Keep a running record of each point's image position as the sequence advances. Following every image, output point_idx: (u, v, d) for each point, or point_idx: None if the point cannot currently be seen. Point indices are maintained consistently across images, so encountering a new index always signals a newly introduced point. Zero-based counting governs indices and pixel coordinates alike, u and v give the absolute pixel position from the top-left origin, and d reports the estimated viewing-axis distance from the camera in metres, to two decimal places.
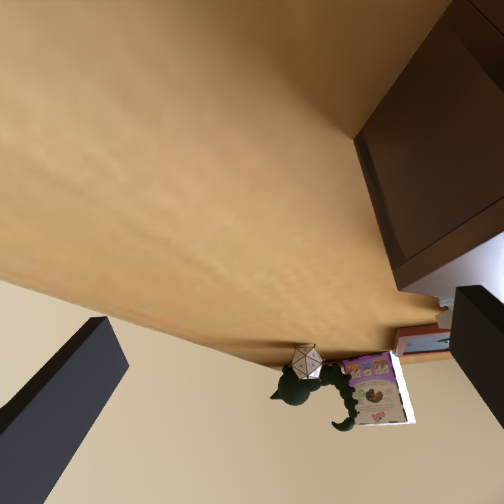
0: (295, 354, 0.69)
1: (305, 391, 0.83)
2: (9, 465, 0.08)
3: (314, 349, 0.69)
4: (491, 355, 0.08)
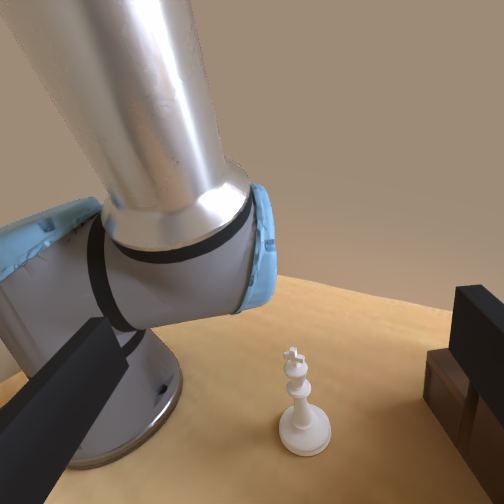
0: None
1: None
2: (9, 465, 0.08)
3: None
4: (491, 355, 0.08)
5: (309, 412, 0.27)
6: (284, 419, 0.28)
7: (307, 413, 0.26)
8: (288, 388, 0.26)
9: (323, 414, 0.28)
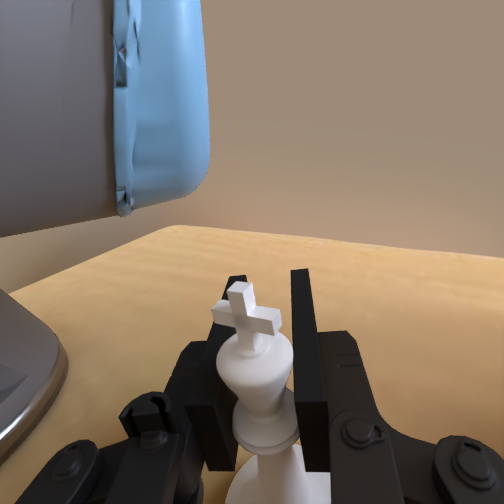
0: None
1: None
2: None
3: None
4: None
5: (301, 484, 0.09)
6: (239, 493, 0.11)
7: (294, 490, 0.09)
8: (235, 419, 0.08)
9: None
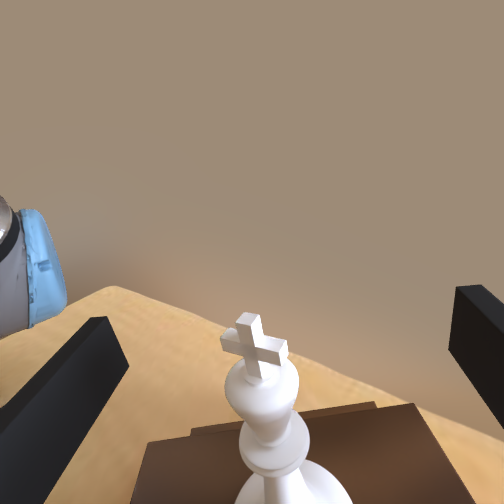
0: None
1: None
2: (9, 465, 0.08)
3: None
4: (491, 355, 0.08)
5: (305, 502, 0.10)
6: None
7: None
8: (243, 440, 0.09)
9: (341, 495, 0.11)
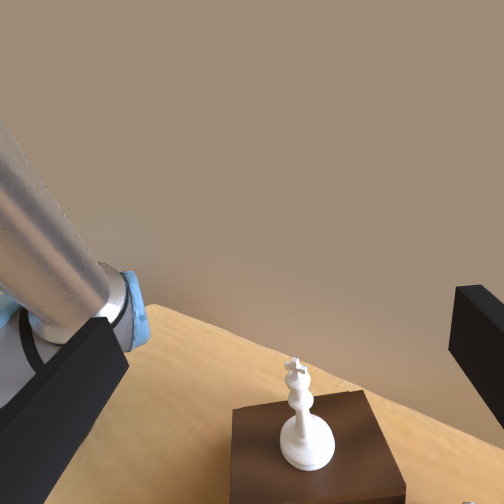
0: None
1: None
2: (9, 465, 0.08)
3: None
4: (491, 355, 0.08)
5: (311, 424, 0.26)
6: (286, 431, 0.27)
7: (309, 425, 0.25)
8: (289, 400, 0.25)
9: (326, 426, 0.27)
